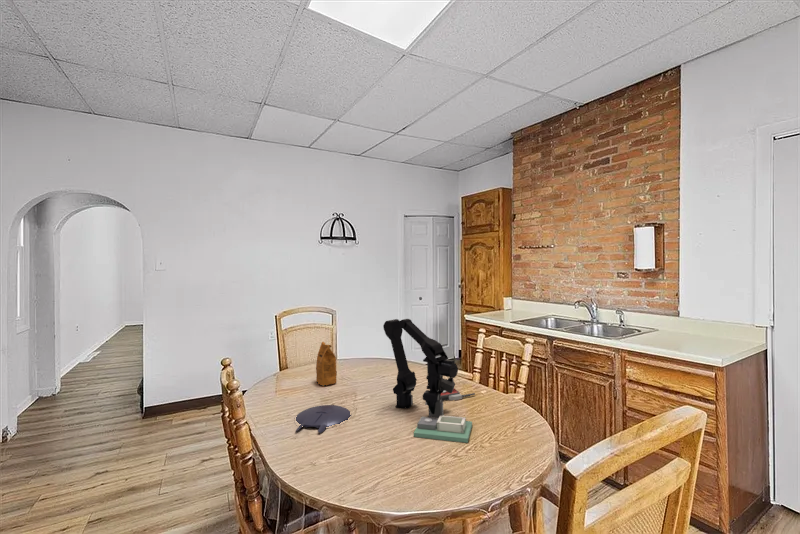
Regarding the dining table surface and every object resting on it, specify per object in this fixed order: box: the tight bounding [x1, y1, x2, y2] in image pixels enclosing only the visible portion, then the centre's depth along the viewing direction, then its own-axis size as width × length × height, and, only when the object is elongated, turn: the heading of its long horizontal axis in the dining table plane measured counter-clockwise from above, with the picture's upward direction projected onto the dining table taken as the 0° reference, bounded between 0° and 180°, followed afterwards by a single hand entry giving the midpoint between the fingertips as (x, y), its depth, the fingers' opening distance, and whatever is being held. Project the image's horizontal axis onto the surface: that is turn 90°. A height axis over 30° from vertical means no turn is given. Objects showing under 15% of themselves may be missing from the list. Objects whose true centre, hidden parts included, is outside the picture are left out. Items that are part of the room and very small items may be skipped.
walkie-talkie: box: [440, 387, 476, 402], centre depth 182 cm, size 9×4×20 cm
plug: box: [424, 399, 444, 418], centre depth 160 cm, size 7×3×7 cm, turn 73°
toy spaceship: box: [295, 404, 352, 434], centre depth 160 cm, size 28×24×3 cm
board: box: [413, 414, 473, 444], centre depth 146 cm, size 20×15×4 cm
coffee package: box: [315, 341, 337, 387], centre depth 208 cm, size 10×12×22 cm
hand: (435, 410), depth 160 cm, fingers open, 8 cm apart
